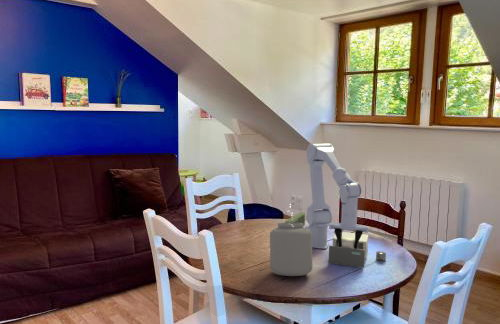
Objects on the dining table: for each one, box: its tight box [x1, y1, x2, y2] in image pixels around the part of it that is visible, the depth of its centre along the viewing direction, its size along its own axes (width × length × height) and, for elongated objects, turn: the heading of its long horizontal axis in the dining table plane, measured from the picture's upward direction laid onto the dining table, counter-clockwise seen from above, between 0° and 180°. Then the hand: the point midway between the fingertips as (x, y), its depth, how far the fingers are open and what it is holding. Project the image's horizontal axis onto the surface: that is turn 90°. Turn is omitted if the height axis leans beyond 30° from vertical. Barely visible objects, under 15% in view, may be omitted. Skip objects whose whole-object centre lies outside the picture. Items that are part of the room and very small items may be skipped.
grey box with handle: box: [328, 245, 365, 268], centre depth 158 cm, size 13×10×7 cm
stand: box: [375, 250, 387, 263], centre depth 161 cm, size 4×4×3 cm
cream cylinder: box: [341, 238, 355, 248], centre depth 158 cm, size 5×5×4 cm
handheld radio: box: [284, 211, 306, 227], centre depth 200 cm, size 7×3×25 cm
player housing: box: [332, 231, 369, 261], centre depth 167 cm, size 13×10×7 cm
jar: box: [269, 203, 313, 277], centre depth 146 cm, size 19×15×25 cm
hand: (347, 248), depth 158 cm, fingers closed on cream cylinder, 5 cm apart
